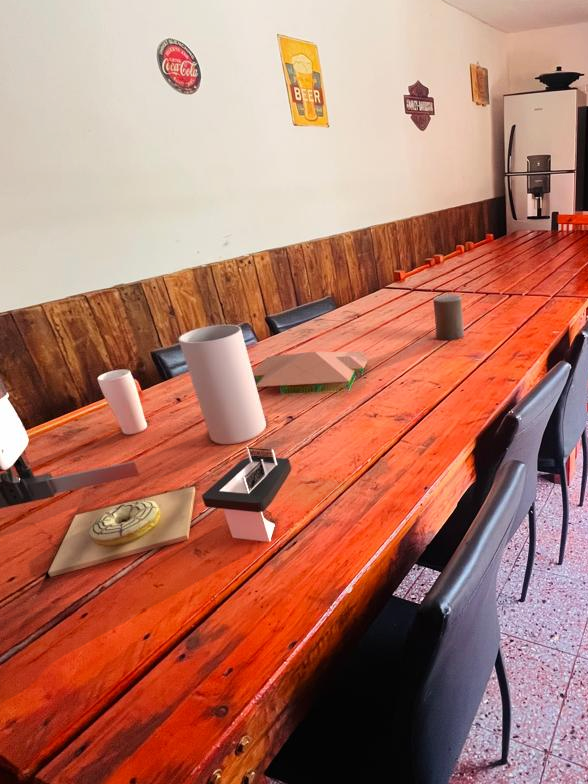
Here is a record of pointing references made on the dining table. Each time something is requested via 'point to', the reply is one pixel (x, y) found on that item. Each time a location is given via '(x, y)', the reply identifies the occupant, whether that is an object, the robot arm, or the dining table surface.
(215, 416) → the cylinder vase
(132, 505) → the decorated donut
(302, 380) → the house
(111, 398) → the white mug
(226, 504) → the black-topped pedestal
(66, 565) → the cutting board
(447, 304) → the pillar candle
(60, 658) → the dining table surface
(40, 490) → the knife
